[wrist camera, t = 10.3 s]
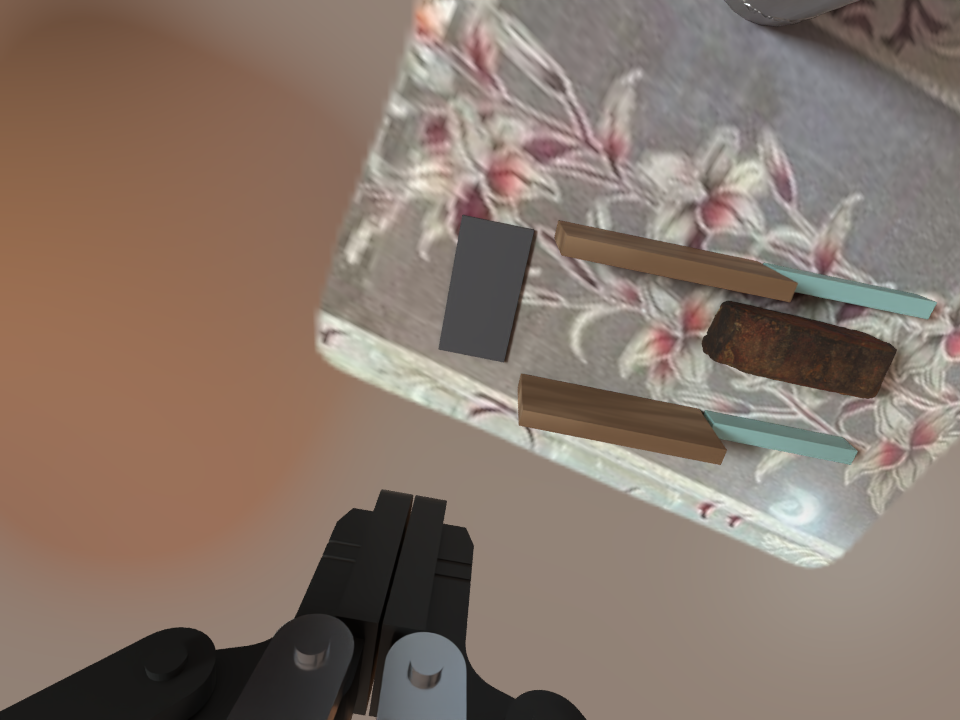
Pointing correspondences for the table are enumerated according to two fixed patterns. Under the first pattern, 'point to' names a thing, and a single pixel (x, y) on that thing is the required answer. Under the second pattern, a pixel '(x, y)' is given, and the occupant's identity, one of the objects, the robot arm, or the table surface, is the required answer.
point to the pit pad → (484, 287)
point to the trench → (627, 414)
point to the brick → (798, 350)
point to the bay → (803, 439)
